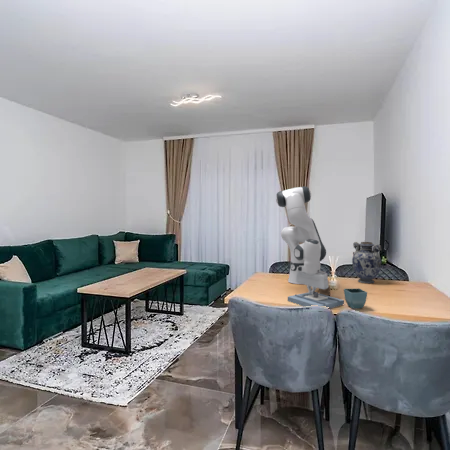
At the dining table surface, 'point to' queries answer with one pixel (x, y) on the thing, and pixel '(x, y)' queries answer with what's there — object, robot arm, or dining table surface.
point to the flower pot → (355, 297)
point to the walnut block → (325, 291)
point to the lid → (316, 297)
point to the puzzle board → (304, 301)
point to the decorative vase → (366, 261)
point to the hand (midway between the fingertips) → (311, 293)
